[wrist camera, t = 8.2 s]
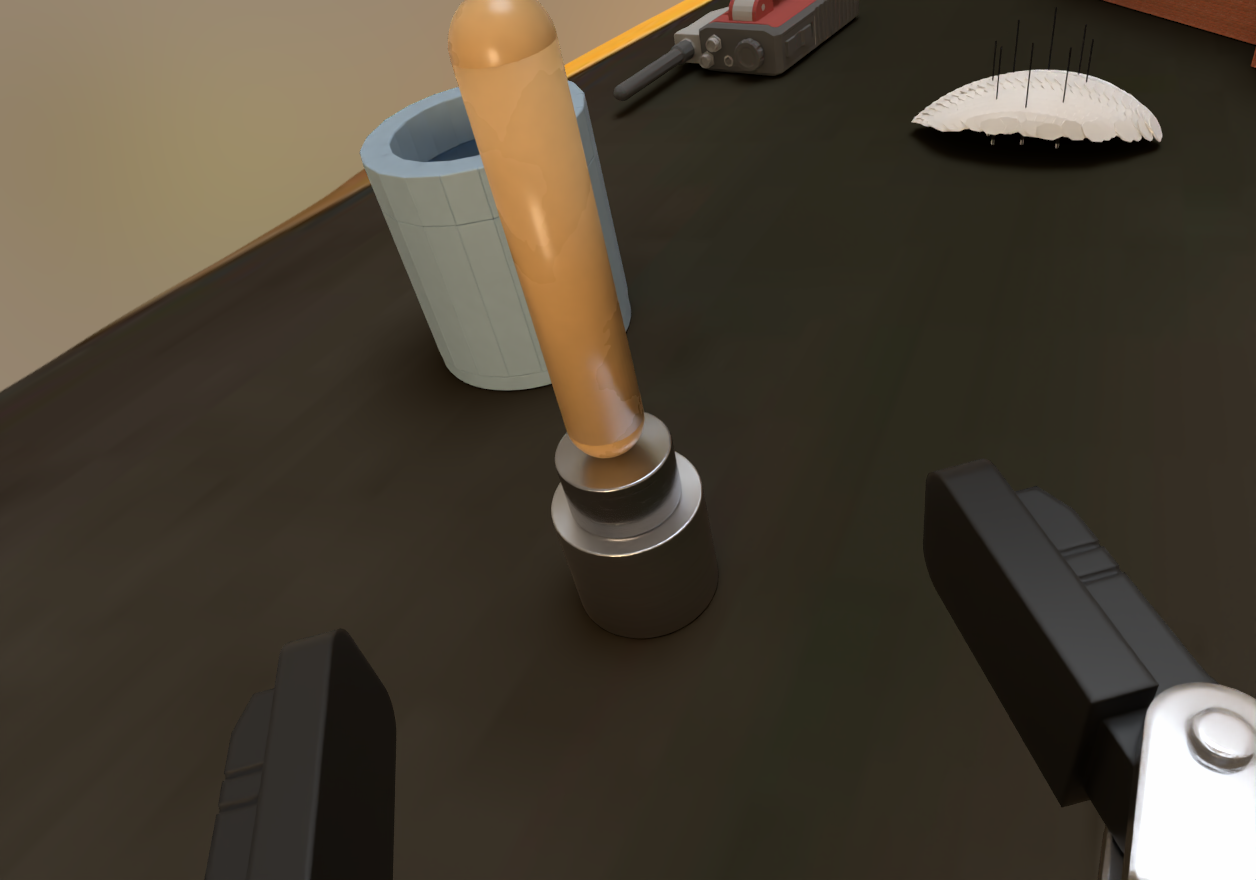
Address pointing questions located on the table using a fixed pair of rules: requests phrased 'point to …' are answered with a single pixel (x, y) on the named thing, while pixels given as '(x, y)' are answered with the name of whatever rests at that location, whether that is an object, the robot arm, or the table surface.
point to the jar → (467, 239)
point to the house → (1205, 15)
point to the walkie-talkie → (749, 38)
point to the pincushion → (1043, 106)
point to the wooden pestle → (581, 335)
